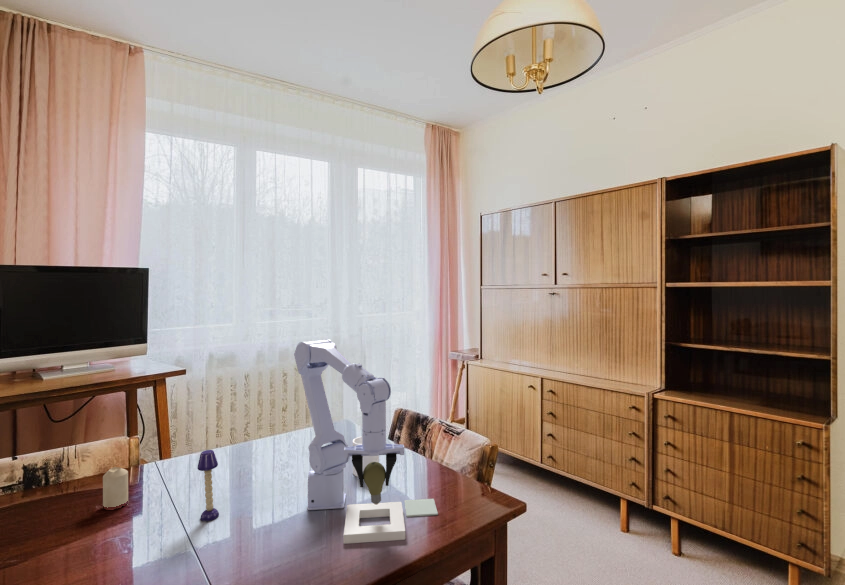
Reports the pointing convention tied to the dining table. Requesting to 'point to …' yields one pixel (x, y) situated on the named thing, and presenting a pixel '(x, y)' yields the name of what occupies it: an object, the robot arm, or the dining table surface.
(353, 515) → the socket block
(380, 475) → the light bulb
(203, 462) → the toy lamp
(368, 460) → the cup
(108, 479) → the candle
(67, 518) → the dining table surface
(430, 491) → the dining table surface
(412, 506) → the rubber pad
